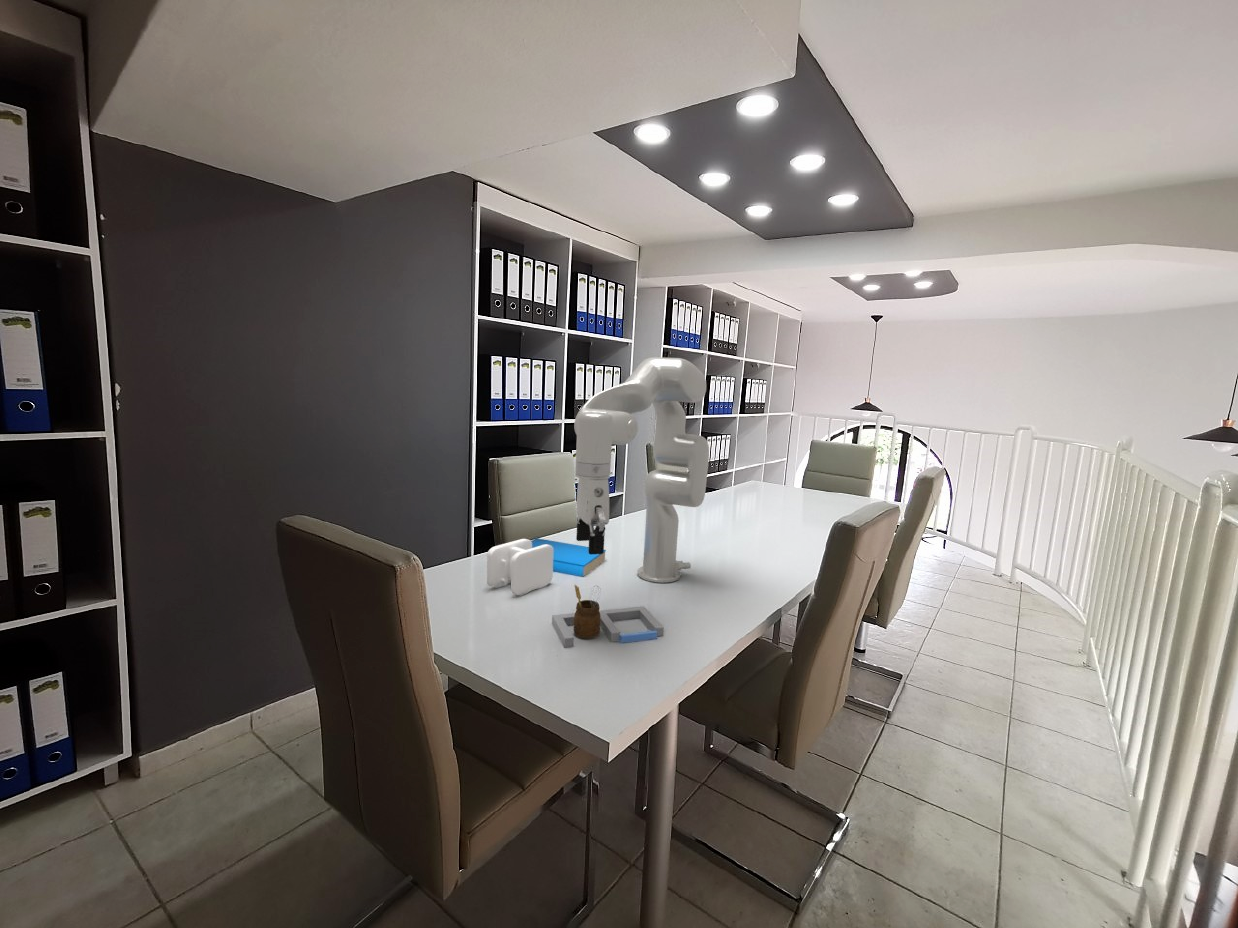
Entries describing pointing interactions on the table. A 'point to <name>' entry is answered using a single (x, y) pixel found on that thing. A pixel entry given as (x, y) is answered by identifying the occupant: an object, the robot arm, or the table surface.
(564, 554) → the book
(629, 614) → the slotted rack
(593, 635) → the utensil holder
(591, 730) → the table surface
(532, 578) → the cable organizer
